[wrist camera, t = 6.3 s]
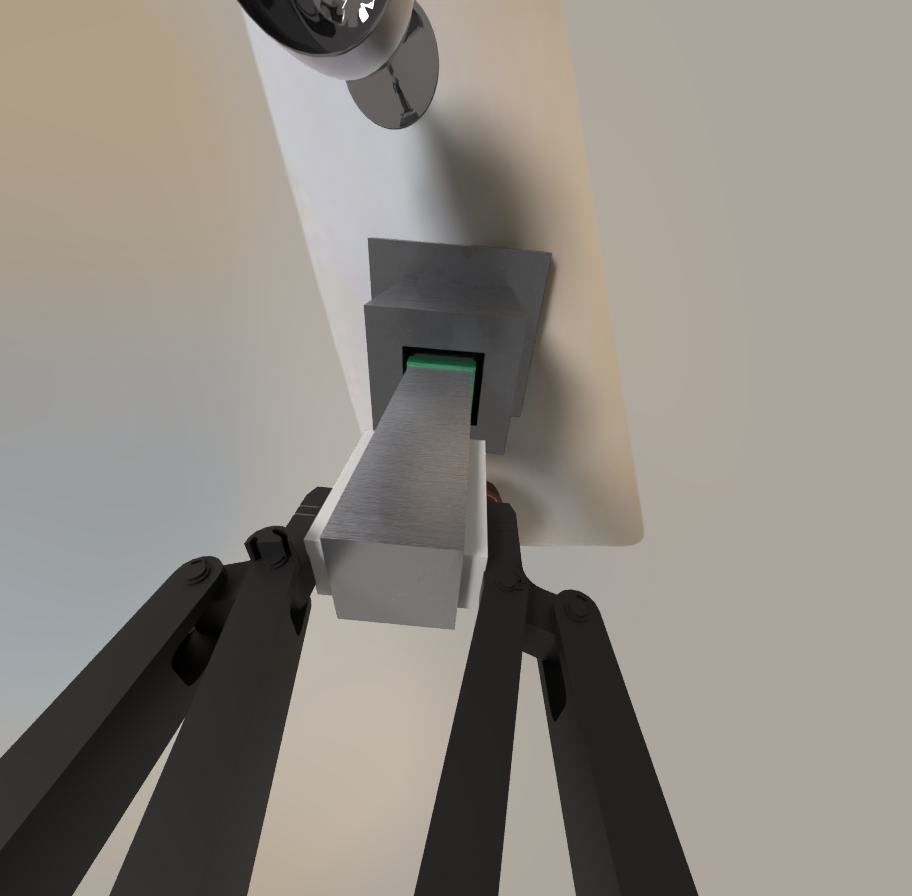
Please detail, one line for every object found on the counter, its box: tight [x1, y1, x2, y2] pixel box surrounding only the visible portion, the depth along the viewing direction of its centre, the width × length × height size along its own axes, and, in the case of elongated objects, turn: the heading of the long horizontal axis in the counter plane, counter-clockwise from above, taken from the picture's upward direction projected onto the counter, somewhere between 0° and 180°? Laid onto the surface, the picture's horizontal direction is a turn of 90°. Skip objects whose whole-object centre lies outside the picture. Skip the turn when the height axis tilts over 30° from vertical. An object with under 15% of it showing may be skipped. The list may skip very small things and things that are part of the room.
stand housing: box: [364, 238, 552, 455], centre depth 29 cm, size 16×16×15 cm
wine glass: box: [237, 0, 438, 129], centre depth 18 cm, size 8×8×15 cm
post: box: [320, 347, 476, 630], centre depth 19 cm, size 4×4×21 cm
